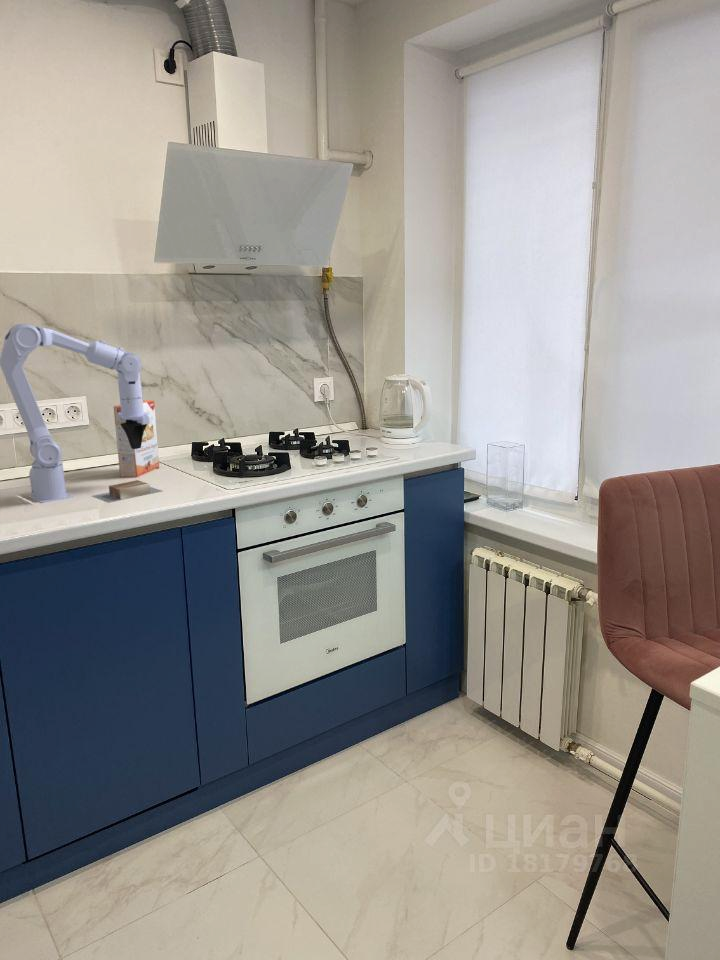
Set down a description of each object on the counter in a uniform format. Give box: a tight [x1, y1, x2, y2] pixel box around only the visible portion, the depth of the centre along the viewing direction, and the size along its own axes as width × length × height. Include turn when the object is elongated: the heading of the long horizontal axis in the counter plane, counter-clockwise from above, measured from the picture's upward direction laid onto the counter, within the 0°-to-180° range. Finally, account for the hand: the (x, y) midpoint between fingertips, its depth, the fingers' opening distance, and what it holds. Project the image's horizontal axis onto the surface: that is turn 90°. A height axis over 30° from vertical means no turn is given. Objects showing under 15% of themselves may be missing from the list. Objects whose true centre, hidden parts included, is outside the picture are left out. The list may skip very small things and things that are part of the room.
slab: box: [108, 479, 151, 500], centre depth 186 cm, size 2×8×6 cm
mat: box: [92, 486, 163, 504], centre depth 187 cm, size 10×15×1 cm, turn 134°
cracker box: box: [113, 399, 160, 478], centre depth 210 cm, size 14×6×21 cm, turn 168°
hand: (136, 448), depth 194 cm, fingers closed
